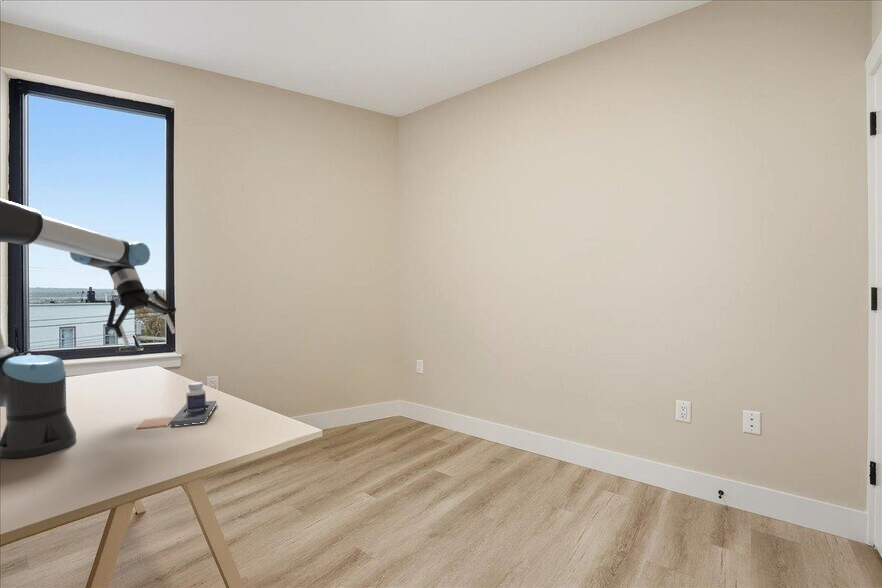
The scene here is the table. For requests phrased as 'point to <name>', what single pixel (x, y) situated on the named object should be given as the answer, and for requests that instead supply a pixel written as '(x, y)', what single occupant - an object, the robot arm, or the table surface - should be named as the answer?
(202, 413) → the holder
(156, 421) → the coaster
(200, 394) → the pill bottle
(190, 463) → the table surface
